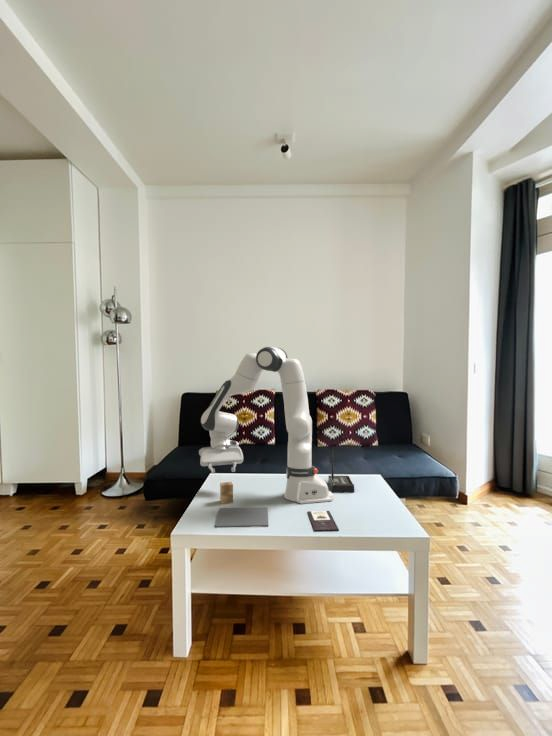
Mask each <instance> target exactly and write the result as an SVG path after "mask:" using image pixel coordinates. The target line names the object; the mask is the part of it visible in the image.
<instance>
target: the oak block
mask: <svg viewBox="0 0 552 736" xmlns="http://www.w3.org/2000/svg"><path fill="white" fill-rule="evenodd" d="M219 485H220V486H219V487H220V489H219V493H220V494H219V495H220V496H219V498H220V503H221V504H223V505H224V504H231V503H232V504H233V503H234V483H232V481H227V482H220V484H219Z"/></svg>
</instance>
